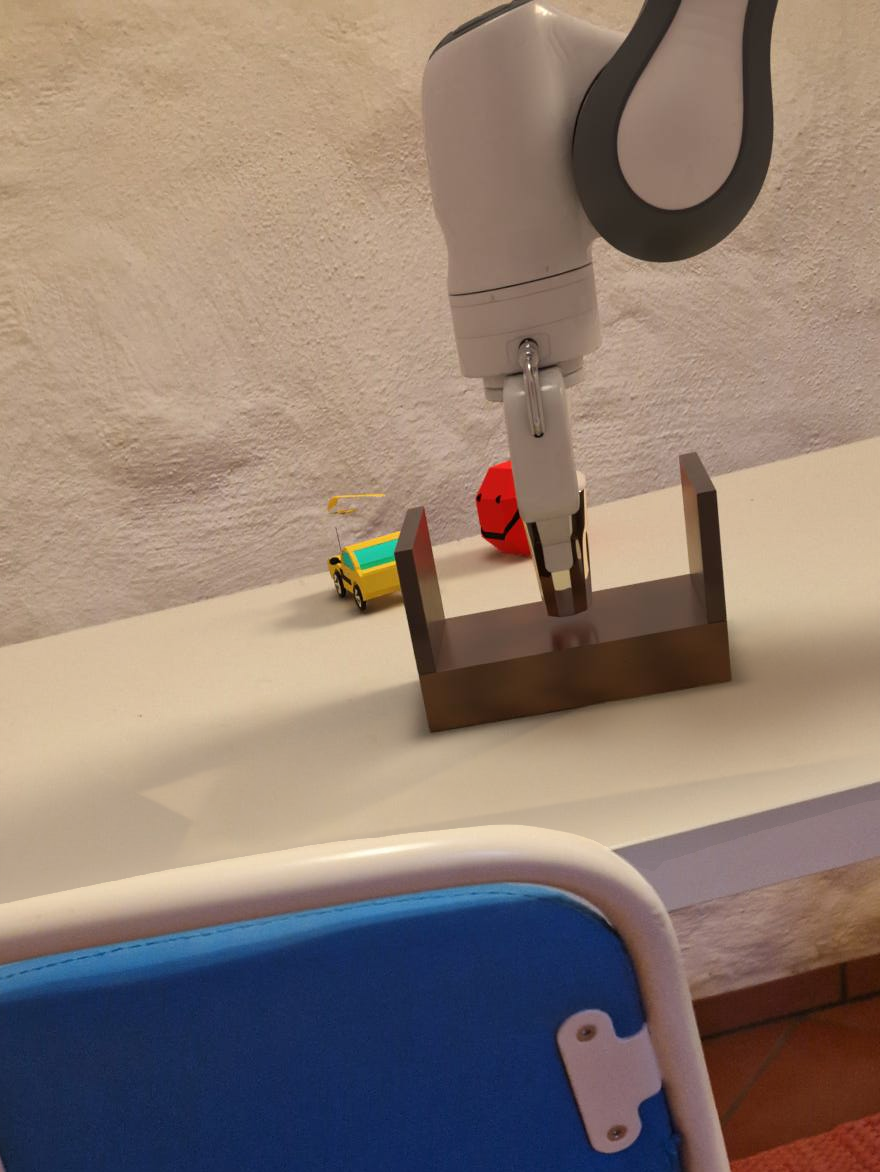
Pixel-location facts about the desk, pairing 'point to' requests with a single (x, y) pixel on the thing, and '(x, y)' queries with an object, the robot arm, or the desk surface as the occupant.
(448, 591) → the desk surface
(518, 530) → the ball
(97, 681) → the desk surface
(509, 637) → the shelf
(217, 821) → the desk surface
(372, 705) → the desk surface
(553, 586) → the milkshake
